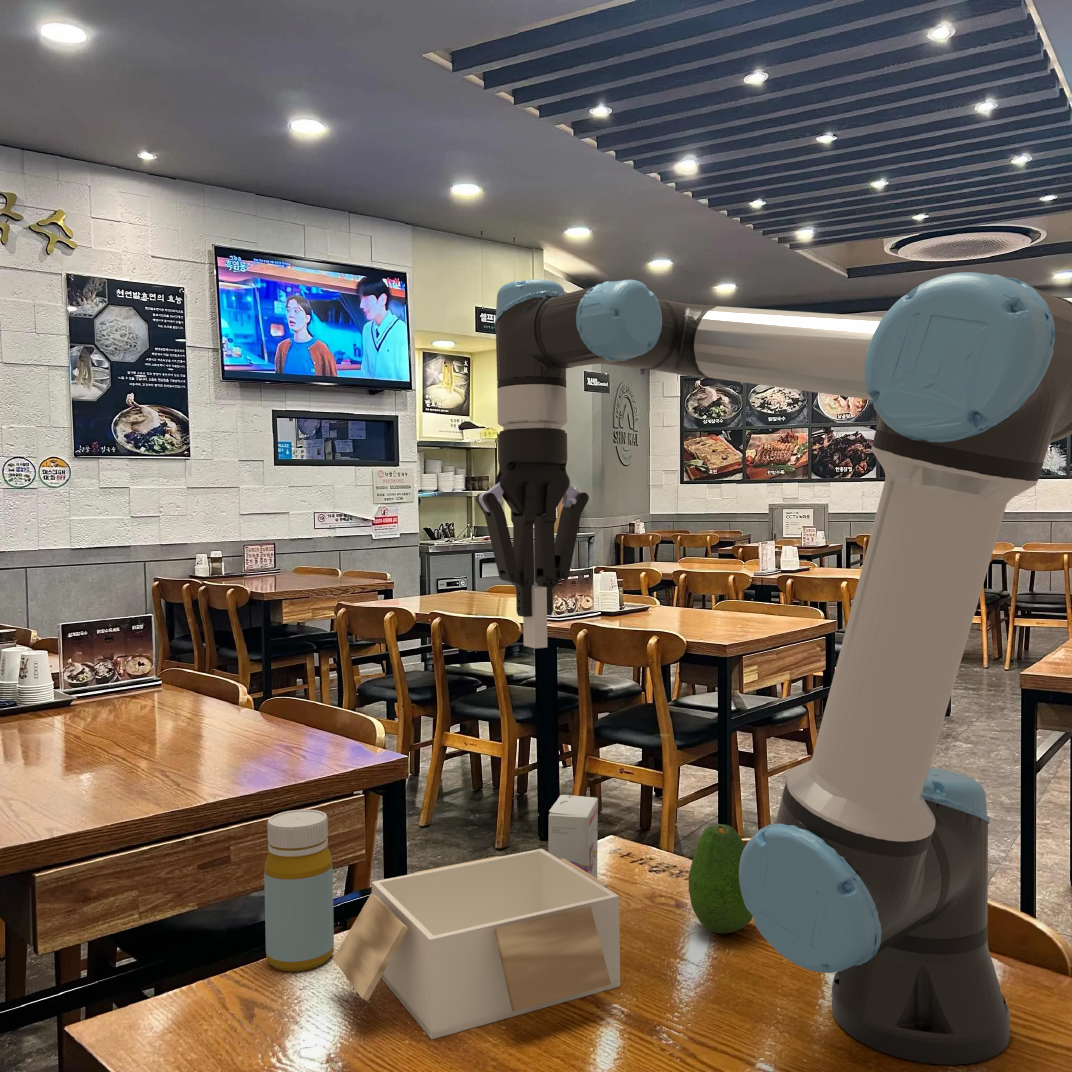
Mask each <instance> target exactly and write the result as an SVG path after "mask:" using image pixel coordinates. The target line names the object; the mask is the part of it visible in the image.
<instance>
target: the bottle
mask: <svg viewBox="0 0 1072 1072" xmlns="http://www.w3.org/2000/svg"><path fill="white" fill-rule="evenodd" d="M328 822H329V821H328V815H327V813H325V812H324V811H320V810H318V809H295V810H294V809H293V810H287V811H282V812H279V813H276V814H274V815H272V816H271V817H268V820H267V823H266V824H267V841H268V843H267V845H268V846H267V848H268V852H267V857H266V860H265V861H264V867H263V868H264V871H263V878H264V883H263V884H264V914H265V915H264V922H265V925H264V927H265V933H264V934H265V954H266V955H265V956H266V960H267V962H268V963H269V964H270V965H271V966H272V967H273V968H275V969H276V970H278V971H283V972H291V973H294V972H295V973H296V972H304V971H309V970H313V969H315V968H318V967H320V966H322V965H323V964H325V963H326V962H327V961H328V960H329V959H330V957H331V956H332V955H333V953H334V951H335V950H334V949H335V945H334V944H335V934H334V933H335V930H334V928H335V927H334V925H335V924H334V923H335V922H334V920H335V919H334V891H333V890H334V880H333V879H334V878H333V877H334V876H333V857H332V854H331V851H330V848H329V847H328V845H329V842H328V841H329V839H328V835H329V832H328V831H329V828H328V827H329V825H328Z"/></svg>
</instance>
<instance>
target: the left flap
mask: <svg viewBox="0 0 1072 1072" xmlns="http://www.w3.org/2000/svg"><path fill="white" fill-rule="evenodd" d="M407 930H408V928H407V927H406V926H405V925H404V924H403V923H402V922H401V921H400V920H399V919H398V918H397V917H396V915H395V914H394V913H393V912H392V911H391V910H390V909H389V908H388V907H387V906H386V905H385V904H384V903H383V902H382V901H381V900H380V899H379V898H378V897H377V896H376V895H374V894H372V892H371V893H370V894H369V897H368V898H367V900H366V902H365V903H364V905H363V907H362V908H361V911H360V912H359V914H358V916H357V917H356V919H355V921H354V922H353V924H352V926H351V928H350V930H349V931H348V933H347V934H346V936H345V938H344V940H343V941H342V943H341V945H340V946H339V949H338V950H337V952H336V954H335V956H334V958H333V961H334V962H335V964H336V965H337V967H338V968H339V970H341V973H343V974H344V976H345V977H346V979H347V980H348V981H349V983H350V984H351V985H352V986H353V988H354V989H355V991H356V992H357V993H358V995H359V996H360V998H361V999H362V1000H365V1001H367V1002H368V1001H369V999H370V998H371V996H372V995H373V992H374V990H375V988H376V987H377V985H378V983H379V981H380V980H381V979H382V978H381V976H382V974H383V973H384V971H385V969H386V967H387V965H388V964H389V962H390V960H391V958H392V957H393V955H394V953H395V951H396V949H397V948H398V946H399V944H400V942H401V940H402V939H403V937H404V935H405V933H406V931H407Z"/></svg>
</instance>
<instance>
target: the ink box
mask: <svg viewBox="0 0 1072 1072" xmlns="http://www.w3.org/2000/svg"><path fill="white" fill-rule="evenodd" d="M598 809H599V798H598V797H595V796H594V797H593V796H591V797H590V796H582V795H581V796H580V795H570V794H560V795H559V796H558V798H557V800H556V801H555V802H554V803H553V805H551V808H550V809H549V810H548V812H549V814H548V837H547V838H548V842H547V843H548V845H547V847H548V848H547V849H548V851H547V852H548V853H550V854H551V855H553V856H555V857H556V858H558V859H563V858H564V859H566V860H567V861H569V862H571V863H572V864H574V865H576V866H577V867H579V868H581V869H582V870H584V871H585V872H587V873H589V874H590V875H592V876H594V877H595V878H597V879H598V833H599V831H598V830H599V828H598V827H599V826H598V818H599V815H598V814H599V813H598Z"/></svg>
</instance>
